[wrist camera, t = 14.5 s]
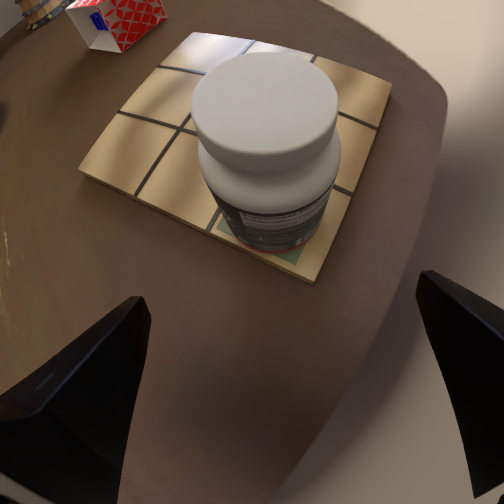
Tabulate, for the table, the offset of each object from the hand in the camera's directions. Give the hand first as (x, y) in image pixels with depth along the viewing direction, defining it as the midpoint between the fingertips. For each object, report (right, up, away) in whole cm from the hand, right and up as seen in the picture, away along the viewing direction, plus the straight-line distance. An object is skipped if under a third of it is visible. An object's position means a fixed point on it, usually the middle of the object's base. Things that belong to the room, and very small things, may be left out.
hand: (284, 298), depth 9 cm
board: (-2, +11, +12) cm, 17 cm away
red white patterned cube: (-17, +29, +19) cm, 39 cm away
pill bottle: (0, +4, +9) cm, 10 cm away
